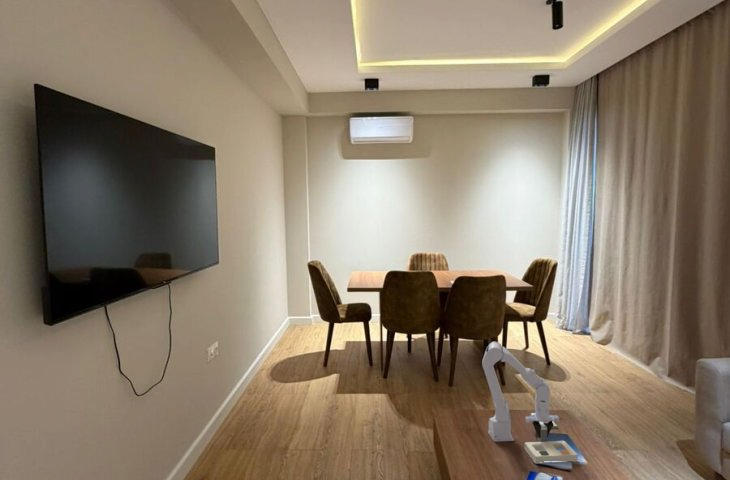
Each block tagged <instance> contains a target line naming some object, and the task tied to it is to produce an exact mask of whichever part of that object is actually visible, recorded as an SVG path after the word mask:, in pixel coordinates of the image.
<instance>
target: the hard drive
mask: <svg viewBox="0 0 730 480" xmlns="http://www.w3.org/2000/svg"><path fill="white" fill-rule="evenodd" d="M531 415H535V412H531V413H530V416H531ZM539 423H540V424H544V423H543V422H539ZM552 423H553V424H554V425H553V427H552V428H551V429H558V428H559V427H558V425H557V424H556V423H555V421H552Z"/></svg>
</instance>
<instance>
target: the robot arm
mask: <svg viewBox="0 0 730 480" xmlns="http://www.w3.org/2000/svg"><path fill="white" fill-rule="evenodd" d="M485 348H486V349H485V351H484V355H483V358H482V362H481V364H482V369H483V372H484V375H485V377H486V382H487V384H488V386H489V390H490V394H491V397H492V399H493V404H494V408H495V411H494V413H495V414H494V415H493V416H492V417H489V419H488V432H487V433H488V435H489V436H490V438H491V439H492V441H493V442H514V441H515V439H514V437H513V436H512V434H511V432H512V430H511V419H512V418H511V415H510V404H509V403H508V402H507V401H506V399H505V396H504V395H503V392H502V389H501V386H500V382H499V379H498V377H497V374H496V371H495V367H494V366H495V364H496V363H497V362H499V361H500V362H503V363H506V362H507V363H508V364H509V365H510V366H511V367H512V368H514V369H515V370H516V371H517V372H519V373H520V376H521V377H520V378H522V380H523V381H525V382H526V383H527V384H528V385H529V386H530V387H531V388H532V389H534V390H535V398H534V400H535V401H534V402H535V403H534V404H535V408H534V410H535V411H534V413H535V415H531V414H530V415H529V416H528V415H526V416H525V422H526V423H527V424H529V423H532V425H533V427H534V430H535V434H536V436H537V437H538V438H540V431H541V425H540V423H539V422H543V423H544V425H545V426H546V427H547V439H548V438H549V434H550V432H551V430H552V429H553V428H552V427H553V425H554V424H553V423H552V421H554V422H560V417H559V416H558V415H557V414H556V415H555V414H554V415H553V414H550V395H551V389H550V386H549V384H548V382H547V380H546V379H544V378H543V377H540V376H539V375H538V374H537V373H536V371H535V369H531V368H529V367H525V366H524V365H523V364H522V363H521V361H519V360H518V359H517V358H516V357H515V356H514V355H513V354H512V353H511V352H510V351H509V350H508V348H506V347H505V346H503V345H502V344H501V343H499V342H497V341H492V342H490V343H489V344H488V346H486V347H485Z"/></svg>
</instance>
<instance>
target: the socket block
mask: <svg viewBox="0 0 730 480" xmlns="http://www.w3.org/2000/svg"><path fill="white" fill-rule="evenodd" d="M558 448H562V449H563V450H557V449H558ZM524 450H525V451H526V454H528V455H529V458H531V460H532V461H533V462H534V464H541V463H540V462H544V461H577V460H578V459H579V457H578V453H577V452H576V451H575V450H574V449H573V448H572V447H571V446H570V445H569V444H568V443H567V442H566V440H556V441H555V440H554V441H553V440H551V441H550V440H549V441H548V440H547V442H538V441H528V442H527V441H526V442H524Z"/></svg>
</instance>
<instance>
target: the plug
mask: <svg viewBox="0 0 730 480" xmlns="http://www.w3.org/2000/svg"><path fill="white" fill-rule="evenodd" d="M540 425H541V431H540V438H538V437H537V441H536V442H548V438H547V427H546V426H545V425H544V424H540Z"/></svg>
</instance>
